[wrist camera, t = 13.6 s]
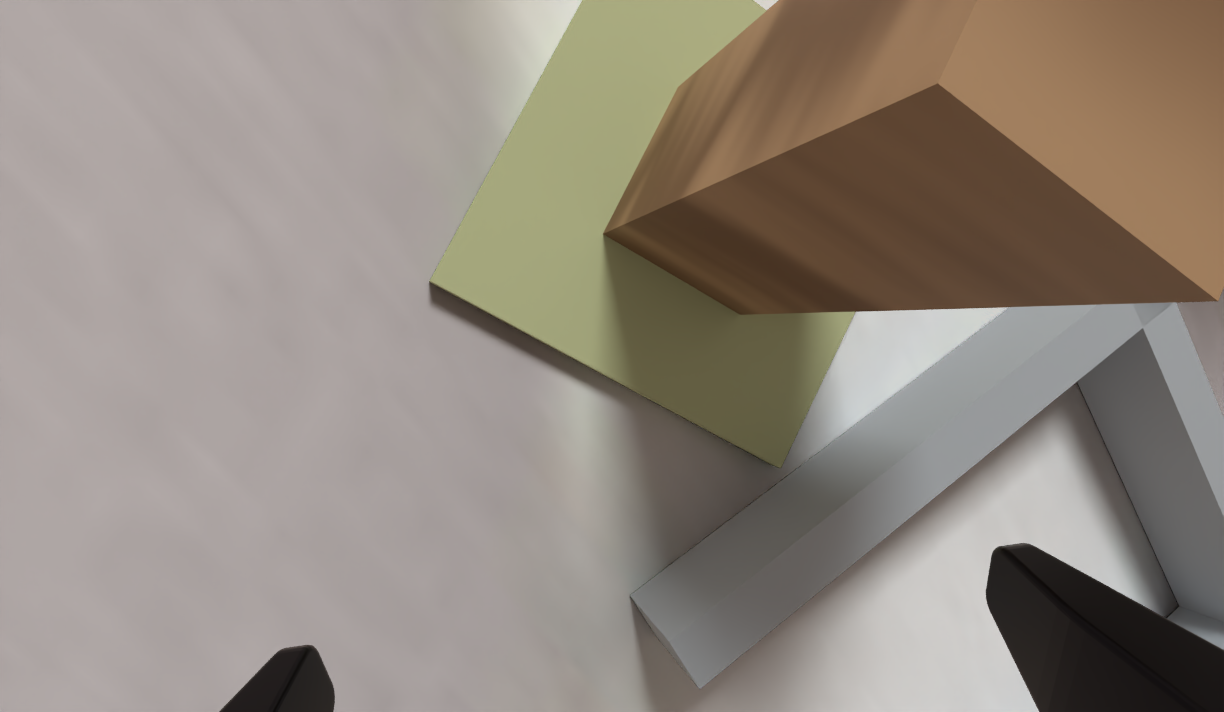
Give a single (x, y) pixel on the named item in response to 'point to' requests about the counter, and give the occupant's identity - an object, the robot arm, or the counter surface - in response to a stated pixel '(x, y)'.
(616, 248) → the mat
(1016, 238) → the walnut block
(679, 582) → the channel
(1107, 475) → the counter surface
